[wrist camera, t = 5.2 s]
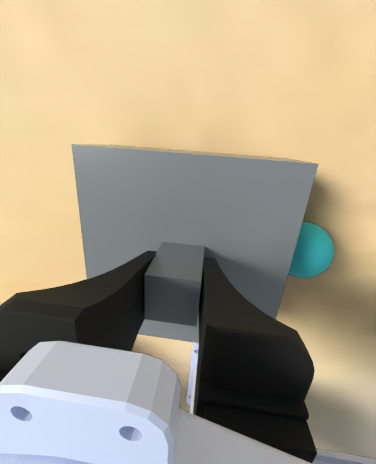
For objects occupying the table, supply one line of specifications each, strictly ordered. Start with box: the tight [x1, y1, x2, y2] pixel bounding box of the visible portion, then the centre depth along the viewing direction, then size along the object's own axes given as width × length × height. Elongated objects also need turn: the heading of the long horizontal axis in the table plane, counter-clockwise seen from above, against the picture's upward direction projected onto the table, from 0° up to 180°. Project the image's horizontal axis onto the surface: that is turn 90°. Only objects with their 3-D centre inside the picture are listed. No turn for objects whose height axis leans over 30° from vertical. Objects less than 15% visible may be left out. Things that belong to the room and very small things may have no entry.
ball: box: [288, 222, 334, 278], centre depth 16 cm, size 4×4×4 cm
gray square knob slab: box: [72, 144, 318, 343], centre depth 14 cm, size 12×12×8 cm
